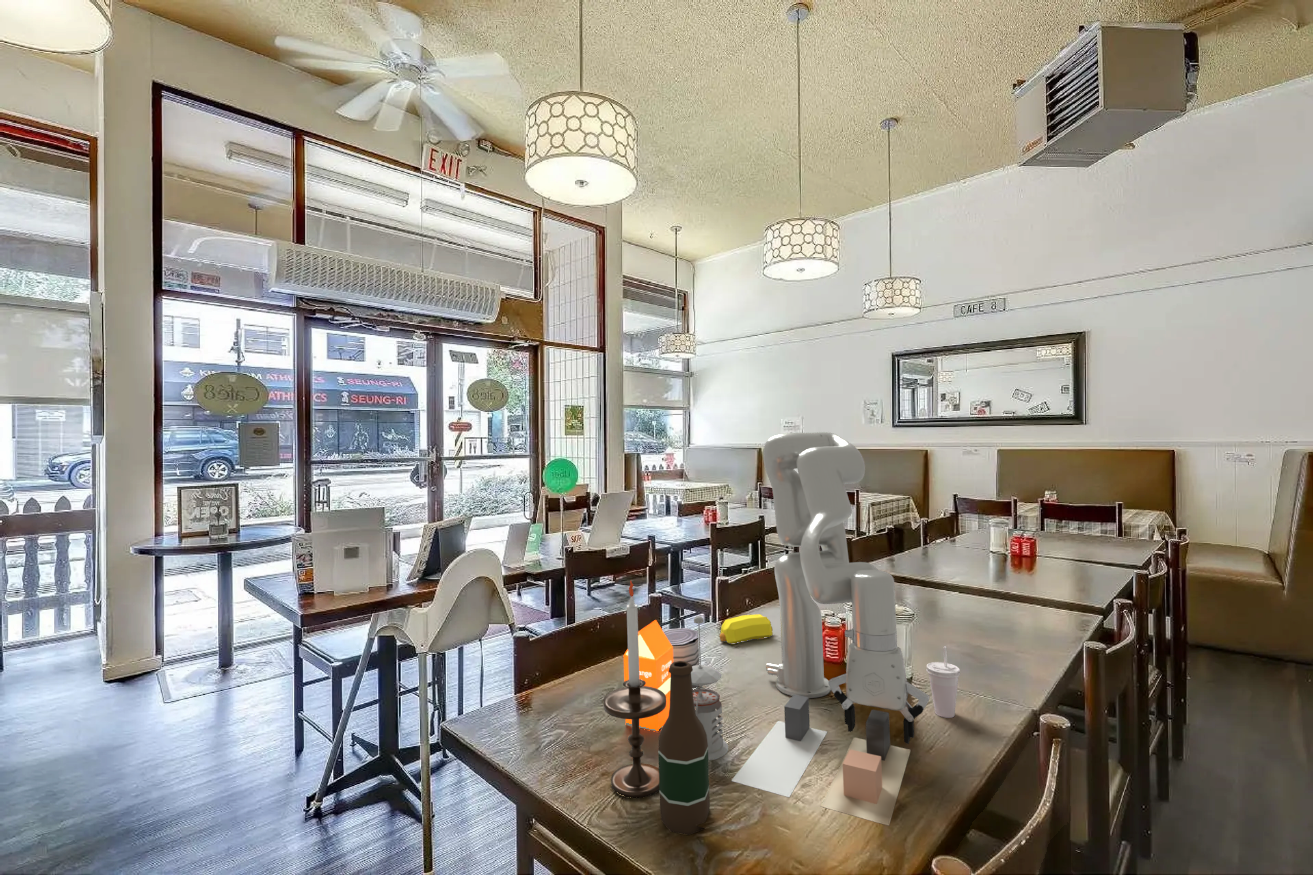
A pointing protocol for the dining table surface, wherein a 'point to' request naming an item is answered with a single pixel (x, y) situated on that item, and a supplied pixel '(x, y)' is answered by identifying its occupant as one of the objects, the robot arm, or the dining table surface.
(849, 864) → the dining table surface
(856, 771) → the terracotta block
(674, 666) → the beer bottle
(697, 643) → the can
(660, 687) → the orange juice
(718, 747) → the french press
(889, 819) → the maple strip
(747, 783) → the grey strip
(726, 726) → the dining table surface
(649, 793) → the candlestick
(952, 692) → the smoothie
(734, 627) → the yellow rounded bar
